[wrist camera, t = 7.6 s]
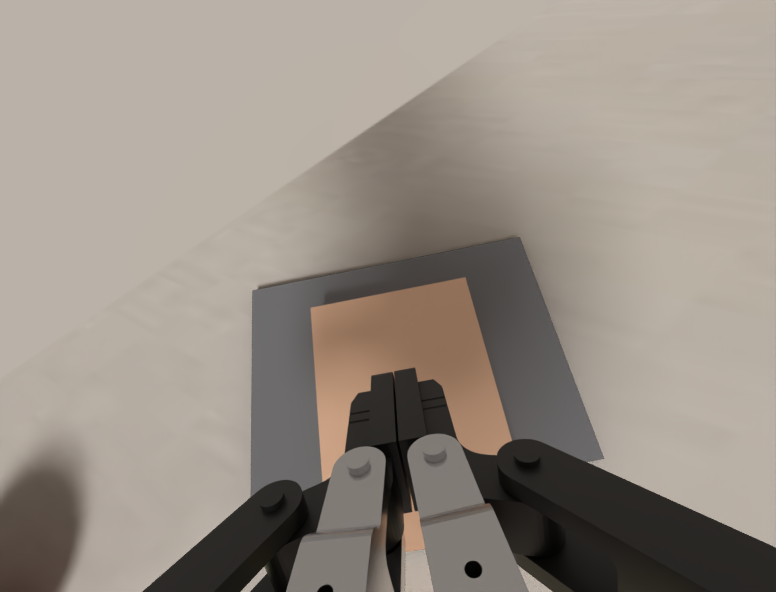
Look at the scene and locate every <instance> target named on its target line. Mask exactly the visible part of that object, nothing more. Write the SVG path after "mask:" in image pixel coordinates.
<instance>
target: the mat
mask: <svg viewBox="0 0 776 592" xmlns="http://www.w3.org/2000/svg"><path fill="white" fill-rule="evenodd" d="M464 277H465V278H466V281H467V285H468V288H469V292H470V295H471V299H472V302H473V306H474V309H475V313H476V316H477V320H478V323H479V327H480V330H481V334H482V337H483V341H484V344H485V348H486V351H487V355H488V358H489V362H490V365H491V369H492V372H493V376H494V379H495V383H496V386H497V390H498V393H499V397H500V400H501V404H502V407H503V411H504V414H505V418H506V421H507V425H508V428H509V432H510V435H511V439H512V441H513V440H517V439H533V440H537V441H540V442H543V443H545V444H547V445H550V446H552V447H554V448H556V449H558V450H561V451H563V452H565V453H567V454H569V455H572V456H574V457H576V458H578V459H581V460H583V461H585V462H589V461H595V460H600V459H604V457H603V454H602V452H601V449H600V446H599V444H598V441H597V439H596V436H595V433H594V431H593V428H592V425H591V423H590V420H589V418H588V415H587V412H586V410H585V407H584V404H583V402H582V399H581V397H580V394H579V391H578V389H577V386H576V384H575V381H574V378H573V376H572V373H571V370H570V368H569V365H568V363H567V360H566V357H565V355H564V352H563V350H562V347H561V344H560V342H559V339H558V336H557V334H556V331H555V329H554V326H553V323H552V321H551V318H550V316H549V313H548V310H547V308H546V305H545V302H544V300H543V297H542V295H541V292H540V289H539V287H538V284H537V281H536V279H535V276H534V274H533V271H532V268H531V266H530V263H529V261H528V258H527V255H526V253H525V250H524V247H523V245H522V242H521V240H520V237H517V238H512V239H507V240H502V241H497V242H492V243H487V244H482V245H477V246H472V247H467V248H462V249H457V250H452V251H447V252H442V253H437V254H432V255H427V256H422V257H417V258H412V259H407V260H402V261H397V262H392V263H387V264H382V265H377V266H372V267H367V268H362V269H357V270H352V271H347V272H342V273H337V274H332V275H327V276H323V277H318V278H313V279H308V280H303V281H298V282H293V283H288V284H283V285H278V286H273V287H268V288H263V289H258V290H253V291H252V401H251V497H252V496H253V495H254V494H255V493H256V492H257V491H259V490H260V489H261V488H263V487H264V486H266V485H268V484H270V483H273V482H275V481H279V480H292V481H295V482H297V483H298V484H299V485H300V486H301V489H302V491H304V490H306V489H308V488H310V487H313V486H315V485H317V484H319V483H321V482H322V469H321V454H320V440H319V425H318V410H317V396H316V381H315V367H314V352H313V338H312V323H311V308H312V307H317V306H322V305H327V304H332V303H337V302H342V301H347V300H352V299H358V298H363V297H368V296H373V295H378V294H383V293H388V292H393V291H398V290H403V289H408V288H413V287H418V286H423V285H428V284H433V283H439V282H444V281H449V280H454V279H459V278H464Z"/></svg>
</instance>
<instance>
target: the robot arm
mask: <svg viewBox="0 0 776 592" xmlns="http://www.w3.org/2000/svg"><path fill="white" fill-rule="evenodd" d="M394 378H395V379H394ZM411 497H412V501H413V505H414V510H415V511H418V512H419V517H420V525H421V530H422V535H423V540H424V545H425V550H426V555H427V560H428V565H429V570H430V575H431V580H432V585H433V590H434V592H529V591H528V589H527V586H526V584H525V582H524V579H523V577H522V575H521V572H520V570H519V568H518V566H517V564H518V565H519V566H520V567H521V568H522V569H524V570H525V571H526V572H528V573H529V574H530V575H532V576H533V577H534V578H536V579H537V580H538V581H540V582H541V583H542V584H544V585H545V586H546V587H548V588H549V589H550V590H551V591H553V592H776V548H775V547H773V546H771V545H769V544H767V543H764V542H762V541H760V540H758V539H755V538H753V537H751V536H749V535H747V534H744V533H742V532H740V531H738V530H736V529H733V528H731V527H729V526H727V525H724V524H722V523H720V522H718V521H716V520H713V519H711V518H709V517H707V516H705V515H702V514H700V513H698V512H696V511H693V510H691V509H689V508H687V507H685V506H682V505H680V504H678V503H676V502H674V501H671V500H669V499H667V498H665V497H662V496H660V495H658V494H656V493H654V492H651V491H649V490H647V489H645V488H643V487H640V486H638V485H636V484H634V483H631V482H629V481H627V480H625V479H623V478H620V477H618V476H616V475H614V474H612V473H609V472H607V471H605V470H603V469H600V468H598V467H596V466H594V465H592V464H589V463H587V462H585V461H583V460H581V459H578V458H576V457H574V456H572V455H569V454H567V453H565V452H563V451H561V450H558V449H556V448H554V447H552V446H550V445H547V444H545V443H543V442H540V441H537V440H533V439H517V440H513V441H510V442H508V443H506V444H504V445H503V446H502V447H501V448H500V449H499V451H498V452H497V455H487V454H479V453H475V452H473V451H470V450H468V449H466V448H465V447H464V446H462V445H461V444H460V442H459V441H458V439H457V437H456V433H455V430H454V426H453V423H452V419H451V416H450V412H449V409H448V406H447V402H446V398H445V395H444V391H443V388H442V386H441V385H440V384H439V383H438V382H436V381H435V380H434V379H431V380H426V381H420V382H418V379H417V374H416V369H415V367H414V368H409V369H403V370H398V371H394V375H393V372H388V373H382V374H377V375H372V376H371V391H366V392H361V393H358V394H357V395H356V397H355V398H354V400H353V401H352V402H351V407H350V416H349V424H348V430H347V438H346V446H345V453H344V454H343V455H342V456H341V457H340V458H339V459H338V460H337V461H336V462H335V464H334V466H333V469H332V473H331V477H330V478H328V479H327V480H325V481H323V482H321V483H319V484H317V485H315V486H313V487H310V488H308V489H306V490H304V491H302V489H301V486H300V485H299V484H298V483H297V482H295V481H292V480H279V481H275V482H273V483H270V484H268V485H266V486H264V487H263V488H261V489H260V490H259V491H257V492H256V493H255V494H254V495H253V496H252V497H251V498H249V499H248V500H247V501H246V502H245V503H244V504H242V505H241V506H240V507H239V508H238V509H237V510H236V511H234V512H233V513H232V514H231V515H230V516H229V517H228V518H226V519H225V520H224V521H223V522H222V523H221V524H220V525H218V526H217V527H216V528H215V529H214V530H213V531H212V532H210V533H209V534H208V535H207V536H206V537H205V538H204V539H202V540H201V541H200V542H199V543H198V544H197V545H195V546H194V547H193V548H192V549H191V550H190V551H189V552H187V553H186V554H185V555H184V556H183V557H182V558H181V559H179V560H178V561H177V562H176V563H175V564H174V565H173V566H171V567H170V568H169V569H168V570H167V571H166V572H165V573H163V574H162V575H161V576H160V577H159V578H158V579H156V580H155V581H154V582H153V583H152V584H151V585H150V586H148V587H147V588H146V589H145V590H144V591H143V592H240V591H241V590H242V589H243V588H244V587H245V586H246V585H247V584H248V583H249V582H250V581H251V580H252V579H253V578H254V577H255V576H256V575H257V573H258V572H259V571H260V570H261V569H262V568H263V567H264V566H265V569H266V571H267V574H266V575H265V576H264V577H263V579H262V580H261V581H260V582H259V583H258V584H257V585H256V586H255V587H254V588H253V589H252V590H251V592H405V553H406V542H405V536H404V515H403V514H404V513H410V512H412V502H411Z"/></svg>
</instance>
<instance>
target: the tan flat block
mask: <svg viewBox="0 0 776 592" xmlns="http://www.w3.org/2000/svg"><path fill="white" fill-rule="evenodd" d="M311 323H312V338H313V352H314V367H315V381H316V396H317V410H318V425H319V440H320V454H321V469H322V482H323V481H325V480H327V479H328V478H330V477H331V473H332V469H333V466H334V464H335V462H336V461H337V460H338V459H339V458H340V457H341V456H342V455H343V454H344V453H345V446H346V438H347V430H348V424H349V416H350V407H351V402H352V401H353V400H354V398H355V397H356V395H357V394H358V393H361V392H366V391H371V376H372V375H377V374H382V373H388V372H393V375H394V371H398V370H403V369H409V368H414V367H415V369H416V374H417V379H418V382H420V381H426V380H431V379H434V380H435V381H436V382H438V383H439V384H440V385H441V386H442V388H443V391H444V395H445V398H446V402H447V406H448V409H449V412H450V416H451V419H452V423H453V426H454V430H455V433H456V437H457V439H458V441H459V442H460V444H461V445H462V446H464V447H465V448H466V449H468V450H470V451H473V452H475V453H479V454H487V455H497V452H498V451H499V449H500V448H501V447H502V446H503V445H504V444H506V443H508V442H510V441H512V439H511V435H510V432H509V428H508V425H507V421H506V418H505V414H504V411H503V407H502V404H501V400H500V397H499V393H498V390H497V386H496V383H495V379H494V376H493V372H492V369H491V365H490V362H489V358H488V355H487V351H486V348H485V344H484V341H483V337H482V334H481V330H480V327H479V323H478V320H477V316H476V313H475V309H474V306H473V302H472V299H471V295H470V292H469V288H468V285H467V281H466V278H465V277H464V278H459V279H454V280H449V281H444V282H439V283H433V284H428V285H423V286H418V287H413V288H408V289H403V290H398V291H393V292H388V293H383V294H378V295H373V296H368V297H363V298H358V299H352V300H347V301H342V302H337V303H332V304H327V305H322V306H317V307H312V308H311ZM394 379H395V378H394ZM411 502H412V512H410V513H404V514H403V515H404V536H405V542H406V552H410V551H416V550H422V549H425V545H424V540H423V535H422V530H421V525H420V517H419V512H418V511H415V510H414V505H413V501H412V497H411Z"/></svg>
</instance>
